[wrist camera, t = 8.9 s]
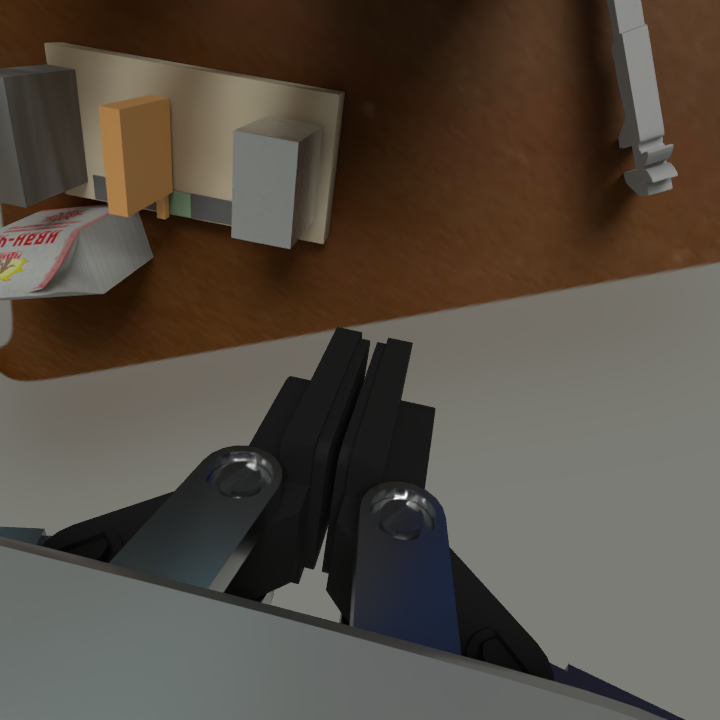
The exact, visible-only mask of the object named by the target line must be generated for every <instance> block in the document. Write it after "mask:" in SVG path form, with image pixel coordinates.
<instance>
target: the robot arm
mask: <svg viewBox="0 0 720 720" xmlns="http://www.w3.org/2000/svg"><path fill="white" fill-rule="evenodd" d="M412 344H413V343H411V342H406V341H401V340H397V339H392V338H388V340H387V343H386V344H384V343H379V342H377V345H376V348H375V350H374V353H373V356H372V359H371V362H370V365H369V368H368V371H367V374H366V377H365V372H366V365H367V359H368V353H369V346H370V341H369V340H365V339H362V332H358V331H353V330H349V329H344V328H339V327H337V329H336V331H335V333H334V335H333V337H332V339H331V341H330V343H329V345H328V347H327V349H326V351H325V353H324V355H323V357H322V359H321V361H320V363H319V365H318V367H317V369H316V371H315V373H314V375H313V377H312V379H311V381H310V380H306V379H301V378H297V377H292V376H290V377H288V379H287V380H286V381H285V383H284V385H283V387H282V388H281V390H280V392H279V393H278V395H277V397H276V399H275V400H274V402H273V404H272V406H271V408H270V409H269V411H268V413H267V415H266V416H265V418H264V420H263V422H262V424H261V425H260V427H259V429H258V431H257V432H256V434H255V436H254V438H253V440H252V441H251V443H250V445H249V446H231V447H226V448H222V449H220V450H218V451H216V452H213V453H212V454H210V455H209V456H208V457H207V458H205V459H204V460H203V461H202V462H201V463H200V464H199V465H198V466H197V468H196V469H195V470H194V471H193V472H192V473H191V474H190V475H189V476H188V477H187V478H186V480H185V481H184V482H183V483H182V484H181V485H180V486H179V487H178V488H177V489H176V490H175V491H174V492H171V493H168V494H165V495H162V496H159V497H156V498H153V499H150V500H147V501H144V502H141V503H138V504H135V505H132V506H129V507H126V508H123V509H120V510H117V511H114V512H111V513H108V514H105V515H102V516H99V517H96V518H92V519H89V520H86V521H83V522H80V523H78V524H74V525H72V526H70V527H68V528H65V529H63V530H61V531H59V532H57V533H56V534H55V535H53V536H46V533H45V529H39V528H16V527H0V720H685V719H683V718H680V717H678V716H676V715H674V714H672V713H670V712H668V711H666V710H664V709H662V708H660V707H658V706H655V705H653V704H651V703H649V702H647V701H645V700H643V699H641V698H639V697H637V696H635V695H632V694H630V693H628V692H626V691H624V690H622V689H620V688H618V687H616V686H614V685H612V684H610V683H607V682H605V681H603V680H601V679H599V678H597V677H595V676H593V675H591V674H589V673H587V672H585V671H582V670H580V669H578V668H576V667H574V666H572V665H570V664H568V665H567V667H566V668H565V670H564V669H562V668H560V667H558V666H556V665H554V664H551V663H549V661H548V658H547V656H546V655H545V654H544V652H543V651H542V649H541V648H540V647H539V645H538V644H537V643H536V642H535V640H534V639H533V638H532V637H531V636H530V635H529V634H528V633H527V632H526V631H525V629H523V627H522V626H521V625H520V624H519V623H518V622H517V621H516V620H515V619H514V617H513V616H512V615H511V614H510V613H509V612H508V611H507V610H506V609H505V607H504V606H503V605H502V604H501V603H500V602H499V601H498V600H497V599H496V598H495V596H494V595H492V593H491V592H490V591H489V590H488V589H487V588H486V587H485V586H484V584H483V583H482V582H481V581H480V580H479V579H478V578H477V577H476V576H475V575H474V573H472V571H471V570H470V569H469V568H468V567H467V566H466V565H465V564H464V563H463V561H462V560H461V559H460V558H459V557H458V556H457V555H456V554H455V553H454V552H453V551H452V549H451V548H450V547H449V540H448V533H447V523H446V517H445V513H444V510H443V507H442V506H441V504H440V503H439V502H438V500H437V499H436V498H435V497H434V496H433V495H432V494H430V493H429V492H428V491H426V490H425V482H426V475H427V468H428V461H429V453H430V446H431V438H432V431H433V423H434V416H435V408H433V407H429V406H424V405H420V404H415V403H411V402H406V401H402V400H401V398H402V393H403V388H404V383H405V378H406V373H407V368H408V363H409V359H410V354H411V349H412ZM364 378H365V379H364ZM328 524H329V525H328ZM327 527H328V532H327V539H326V546H325V553H324V560H323V567H322V572H325V573H329V576H328V582H327V588H326V590H327V592H328V594H329V595H330V597H331V598H332V600H333V601H334V603H335V604H336V606H337V607H338V609H339V610H340V612H341V615H340V621H339V623H337V622H333V621H329V620H325V619H322V618H318V617H314V616H310V615H306V614H302V613H299V612H294V611H291V610H287V609H283V608H280V607H276V606H272V605H270V604H271V601H272V598H273V595H274V590H275V589H277V588H280V587H282V586H284V585H286V584H288V583H290V582H292V583H296V584H299V581H300V578H301V575H302V572H303V570H304V567H306V568H310V569H314V567H315V565H316V562H317V559H318V556H319V553H320V549H321V546H322V543H323V540H324V537H325V533H326V530H327Z"/></svg>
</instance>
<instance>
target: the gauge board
mask: <svg viewBox="0 0 720 720" xmlns="http://www.w3.org/2000/svg"><path fill="white" fill-rule="evenodd" d="M44 45H45V53H46V60H47V64H44V65H34V66H23V67H12V68H1V69H0V202H1V203H6V204H11V205H16V206H21V207H29V206H31V205H34V204H36V203H38V202H41V201H43V200H46V199H48V198H51V197H53V196H55V195H58V194H60V193H63V192H65V194H68V195H74V196H79V197H84V198H89V199H94V200H99V201H104V202H108V199H107V189H106V178H105V168H104V158H103V148H102V138H101V128H100V118H99V108H98V106H100V105H105V104H109V103H114V102H119V101H123V100H128V99H132V98H137V97H142V96H146V95H151V94H152V95H157V96H163V97H168V98H169V105H170V132H171V158H172V185H173V192H172V193H170V194H169V195H168V198H169V214H171V215H176V216H181V217H186V218H192V219H197V220H202V221H207V222H212V223H217V224H222V225H228V226H232V174H233V130H236V129H238V128H240V127H242V126H245V125H247V124H249V123H251V122H254V121H256V120H258V119H260V118H263V117H265V116H267V115H268V116H274V117H279V118H285V119H291V120H296V121H302V122H307V123H313V124H318V125H323V135H322V145H321V156H320V166H319V176H318V186H317V196H316V207H315V217H314V220H313V221H312V223H311V224H310V225H309V226H308V228H307V229H306V230H305V232H304V233H303V234H302V235H301V237H300V238H299V240H305V241H310V242H315V243H320V244H324V242H325V241H326V239H327V238H328V236H329V228H330V220H331V211H332V202H333V193H334V184H335V176H336V167H337V158H338V149H339V141H340V132H341V123H342V114H343V105H344V97H345V92H342V91H336V90H330V89H325V88H319V87H313V86H308V85H302V84H296V83H291V82H285V81H279V80H273V79H268V78H262V77H256V76H251V75H245V74H239V73H233V72H228V71H222V70H216V69H211V68H205V67H199V66H194V65H188V64H182V63H176V62H171V61H165V60H159V59H154V58H148V57H142V56H136V55H131V54H125V53H119V52H114V51H108V50H102V49H97V48H91V47H85V46H79V45H74V44H68V43H62V42H59V43H44ZM144 209H145V210H151V211H156V212H157V205H156V202H154V203H153V204H151V205H149V206H147V207H145V208H144Z"/></svg>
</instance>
